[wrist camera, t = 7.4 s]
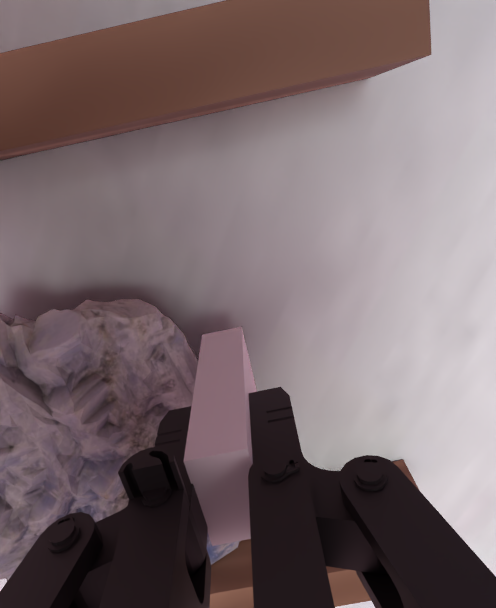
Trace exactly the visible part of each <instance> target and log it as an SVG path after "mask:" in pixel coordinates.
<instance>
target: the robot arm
mask: <svg viewBox="0 0 496 608" xmlns="http://www.w3.org/2000/svg"><path fill="white" fill-rule="evenodd" d="M118 474H119V477H120V479H121V482H122V484H123V486H124V489H125V491H126V494H127V496H128V498H129V502H128V505H127V507H125V508H124V509H122V510H121V511H119V512H117V513H115V514H113V515H111V516H108V517H106V518H104V519H102V520H100V521H97V522H95V521H94V519H93V518H92V517H91V516H90V515H89V514H87V513H83V512H77V513H71V514H68V515H66V516H64V517H62V518H59V519H58V520H56V521H55V522H54V523H52V524H51V525H50V526H48V527H47V528H46V530H45V531H44V532H43V533H42V534H41V535H40V536H39V538H38V539H37V540H36V542H35V543H34V545H33V546H32V547H31V549H30V550H29V552H28V553H27V555H26V556H25V557H24V559H23V560H22V562H21V563H20V564H19V566H18V567H17V569H16V570H15V572H14V573H13V574H12V576H11V577H10V579H9V580H8V581H7V583H6V584H5V586H4V587H3V589H2V590H1V591H0V608H210V587H211V562H210V557H209V554H208V551H207V533H208V535H209V538H210V541H211V544H212V546H215V545H220V544H226V543H231V542H236V541H242V540H247V539H251V557H252V580H253V603H254V608H335V606H334V601H333V597H332V592H331V587H330V583H329V578H328V573H327V569H326V566H328V567H334V568H341V569H348V570H354V571H356V573H357V575H358V577H359V579H360V581H361V583H362V584H363V586H364V588H365V590H366V592H367V593H368V595H369V597H370V599H371V600H372V602H373V604H374V606H375V608H496V577H495V576H494V574H493V573H492V572H491V571H490V570H489V569H488V568H487V566H486V565H485V564H484V563H483V562H482V561H481V560H480V559H479V557H478V556H477V555H476V554H475V553H474V552H473V551H472V550H471V548H470V547H469V546H468V545H467V544H466V543H465V542H464V541H463V539H462V538H461V537H460V536H459V535H458V534H457V533H456V532H455V530H454V529H453V528H452V527H451V526H450V525H449V524H448V522H447V521H446V520H445V519H444V518H443V517H442V516H441V515H440V513H439V512H438V511H437V510H436V509H435V508H434V507H433V506H432V504H431V503H430V502H429V501H428V500H427V499H426V498H425V497H424V495H423V494H422V493H421V492H420V491H419V490H418V489H417V488H416V486H415V485H414V484H413V483H412V482H411V481H410V480H409V478H408V477H407V476H406V475H405V474H404V473H403V472H402V471H401V469H400V468H399V467H398V466H396V465H395V464H394V463H393V462H391V461H390V460H388V459H385V458H382V457H379V456H368V455H366V456H361V457H357V458H354V459H353V460H351V461H349V462H347V463H346V464H345V465H344V467H343V468H342V469H341V471H329V470H323V469H319V468H317V467H314V466H313V465H311V464H310V463H308V462H307V461H306V459H305V458H304V457H303V454H302V452H301V448H300V443H299V438H298V434H297V429H296V425H295V420H294V415H293V411H292V406H291V401H290V397H289V395H288V394H287V393H286V392H285V391H284V390H283V389H282V388H281V387H278V388H273V389H268V390H263V391H258V392H257V388H256V384H255V380H254V376H253V372H252V368H251V364H250V359H249V355H248V351H247V347H246V343H245V339H244V334H243V330H242V326H241V327H236V328H232V329H227V330H222V331H217V332H212V333H208V334H203V335H202V339H201V346H200V353H199V359H198V366H197V373H196V380H195V387H194V393H193V400H192V406H189V407H184V408H179V409H174V410H169V411H168V413H167V414H166V415H165V416H164V418H163V419H162V420H161V422H160V424H159V428H158V432H157V437H156V440H155V447H151V448H148V449H145V450H142V451H139V452H138V453H136V454H134V455H133V456H131V457H130V458H129V459H128V460H127V461H126V462H124V463H123V464H122V466H121V468H120V470H119V471H118Z"/></svg>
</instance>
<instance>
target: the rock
mask: <svg viewBox="0 0 496 608" xmlns="http://www.w3.org/2000/svg"><path fill="white" fill-rule="evenodd" d="M197 366H198V361H197V359H196V357H195V355H194V353H193V351H192V350H191V348H190V347H189V345H188V343H187V340H186V337H185V335H184V334H183V333H182V331H181V330H180V329H179V328H178V327H177V326H176V325H175V323H174V322H173V321H172V320H171V319H170V318H169V317H166V316H164V315H163V314H162V313H161V312H160V311H159V310H158V308H157V307H156V306H153V305H151V304H149V303H147V302H144V301H142V300H140V299H119V300H115V301H111V302H101V301H91V300H89V299H87V300H86V301H84V302H83V303H81V304H80V305H79V306H77V307H76V308H75V309H74V310H69V309H65V310H62V311H59V310H55V309H52V310H50V311H48V312H46V313H44V314H42V315H40V316H38V317H37V319H36V321H34V320H30V319H25V318H22V317H20V316H18V315H15V317H14V320H13V319H11V318H9V317H7V316H6V315H4V314H2V313H0V579H4V578H6V579H7V581H8V580H9V579H10V577H11V576H12V574H13V573H14V572H15V570H16V569H17V567H18V566H19V564H20V563H21V562H22V560H23V559H24V557H25V556H26V555H27V553H28V552H29V550H30V549H31V547H32V546H33V545H34V543H35V542H36V540H37V539H38V538H39V536H40V535H41V534H42V533H43V532H44V531H45V530H46V528H47V527H48V526H50V525H51V524H52V523H54V522H55V521H56V520H58V519H59V518H62V517H64V516H66V515H68V514H71V513H77V512H83V513H87V514H89V515H90V516H91V517H92V518H93V519H94V521H95V522H97V521H100V520H102V519H104V518H106V517H108V516H111V515H113V514H115V513H117V512H119V511H121V510H122V509H124V508H125V507H127V505H128V502H129V498H128V496H127V494H126V491H125V489H124V486H123V484H122V482H121V479H120V477H119V474H118V471H119V470H120V468H121V466H122V464H123V463H124V462H126V461H127V460H128V459H129V458H130V457H131V456H133V455H134V454H136V453H138V452H139V451H142V450H145V449H148V448H151V447H155V440H156V437H157V432H158V428H159V424H160V422H161V420H162V419H163V418H164V416H165V415H166V414H167V413H168V411H169V410H174V409H179V408H184V407H189V406H192V400H193V393H194V387H195V380H196V373H197ZM239 542H240V541H236V542H231V543H226V544H220V545H215V546H212V544H211V541H210V538H209V535H208V533H207V551H208V554H209V557H210V562H211V565H212V564H214V563H215V562H217V561H218V560H220V559H221V558H223V557H224V556H226V555H227V554H229V553H230V552H232V551H233V550H235V549H236V548H238V545H239Z"/></svg>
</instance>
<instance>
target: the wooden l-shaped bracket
mask: <svg viewBox="0 0 496 608" xmlns="http://www.w3.org/2000/svg"><path fill="white" fill-rule="evenodd" d="M429 55H431V35H430V10H429V0H226V1H222V2H217V3H213V4H209V5H205V6H200V7H196V8H192V9H187V10H183V11H179V12H175V13H170V14H166V15H162V16H158V17H153V18H149V19H145V20H140V21H136V22H132V23H128V24H123V25H119V26H115V27H111V28H106V29H102V30H98V31H93V32H89V33H85V34H81V35H76V36H72V37H68V38H64V39H59V40H55V41H51V42H46V43H42V44H38V45H34V46H29V47H25V48H21V49H17V50H12V51H8V52H4V53H0V160H4V159H9V158H13V157H18V156H22V155H27V154H31V153H36V152H40V151H45V150H49V149H54V148H58V147H63V146H67V145H72V144H76V143H81V142H85V141H89V140H94V139H98V138H103V137H107V136H112V135H116V134H121V133H125V132H130V131H134V130H139V129H143V128H148V127H152V126H157V125H161V124H166V123H170V122H175V121H179V120H183V119H188V118H192V117H197V116H201V115H206V114H210V113H215V112H219V111H224V110H228V109H233V108H237V107H242V106H246V105H251V104H255V103H260V102H264V101H269V100H273V99H278V98H282V97H286V96H291V95H295V94H300V93H304V92H309V91H313V90H318V89H322V88H327V87H331V86H336V85H340V84H345V83H349V82H354V81H358V80H363V79H367V78H371V77H373V76H376V75H379V74H381V73H384V72H386V71H389V70H392V69H394V68H397V67H400V66H402V65H405V64H408V63H410V62H413V61H415V60H418V59H421V58H423V57H426V56H429ZM393 463H394V464H395V465H396V466H398V467H399V468H400V469H401V471H402V472H403V473H404V474H405V475H406V476H407V477H408V478H409V480H410V481H411V482H412V483H413V484H414V485H415V486H416V488H417V489H418V487H417V485H416V483H415V481H414V479H413V477H412V476H411V474H410V472H409V470H408V468H407V466H406V464H405V462H404V460H399V461H394V462H393ZM418 490H419V489H418ZM326 569H327V573H328V578H329V583H330V587H331V592H332V597H333V601H334V606H335V607H336V606H342V605H348V604H354V603H359V602H365V601H371V599H370V597H369V595H368V593H367V592H366V590H365V588H364V586H363V584H362V583H361V581H360V579H359V577H358V575H357V573H356V571H354V570H348V569H341V568H334V567H328V566H326ZM210 608H254V603H253V580H252V557H251V539H247V540H242V541H240V542H239V545H238V548H236V549H235V550H233V551H232V552H230V553H229V554H227V555H226V556H224V557H223V558H221V559H220V560H218V561H217V562H215V563H214V564H212V565H211V587H210Z"/></svg>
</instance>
